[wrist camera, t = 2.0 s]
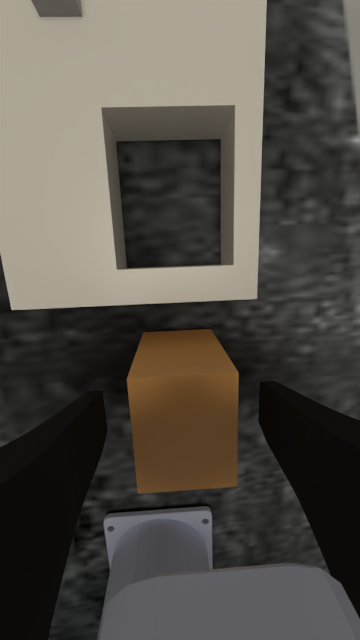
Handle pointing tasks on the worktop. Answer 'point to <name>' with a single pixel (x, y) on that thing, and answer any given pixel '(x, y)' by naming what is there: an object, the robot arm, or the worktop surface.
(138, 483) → the plug
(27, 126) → the socket
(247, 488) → the worktop surface
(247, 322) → the worktop surface
